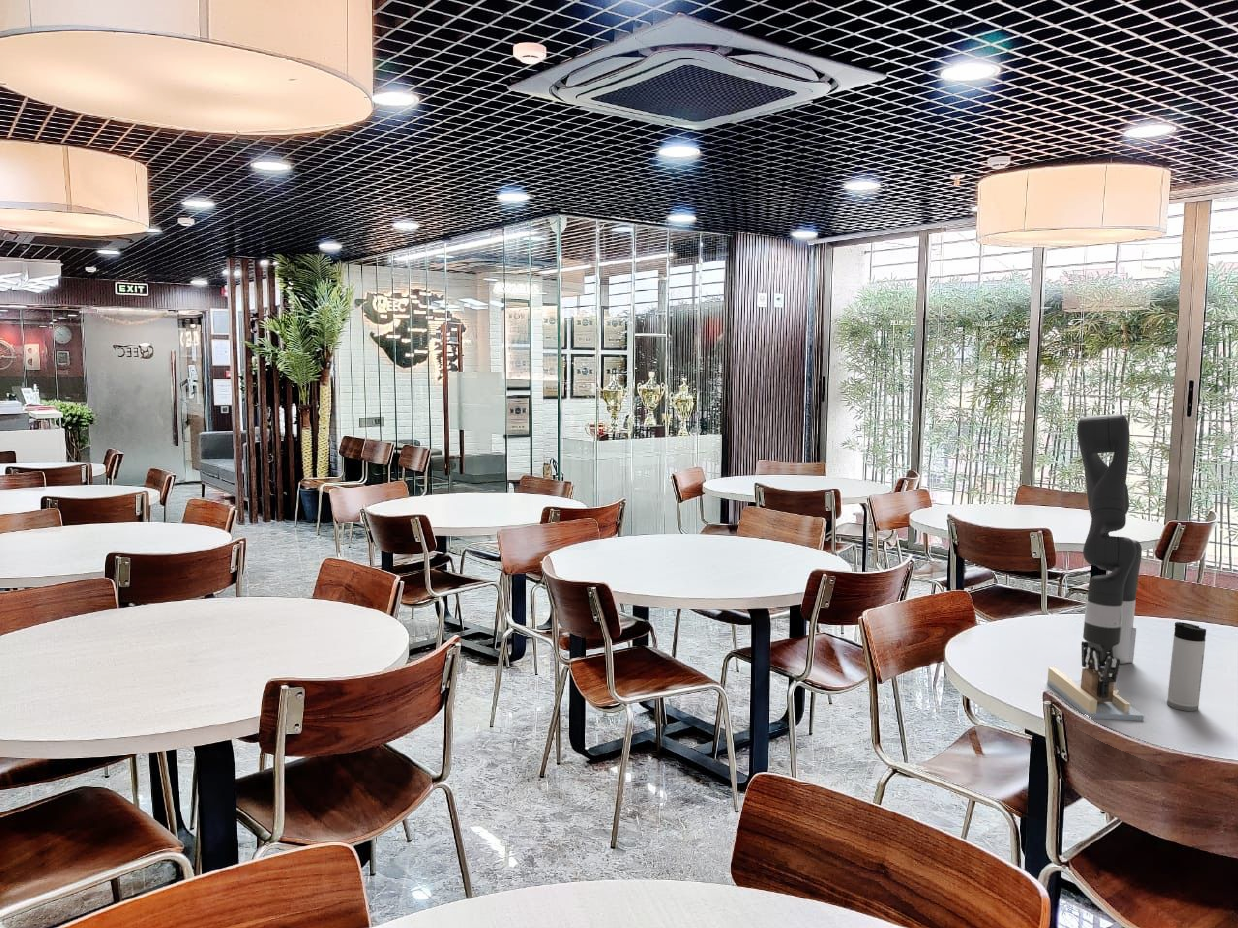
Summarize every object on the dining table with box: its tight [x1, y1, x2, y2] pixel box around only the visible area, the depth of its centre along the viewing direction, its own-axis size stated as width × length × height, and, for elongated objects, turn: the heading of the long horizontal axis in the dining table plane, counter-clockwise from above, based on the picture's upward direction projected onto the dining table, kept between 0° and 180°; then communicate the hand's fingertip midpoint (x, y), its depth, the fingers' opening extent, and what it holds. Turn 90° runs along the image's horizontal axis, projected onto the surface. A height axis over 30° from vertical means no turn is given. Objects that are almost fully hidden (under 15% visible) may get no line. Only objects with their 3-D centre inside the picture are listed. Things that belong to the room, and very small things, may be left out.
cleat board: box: [1046, 666, 1145, 722], centre depth 213 cm, size 12×22×4 cm, turn 177°
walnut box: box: [1080, 667, 1115, 702], centre depth 209 cm, size 5×5×7 cm
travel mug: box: [1166, 621, 1207, 712], centre depth 210 cm, size 6×7×20 cm
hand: (1096, 692), depth 209 cm, fingers closed on walnut box, 5 cm apart
